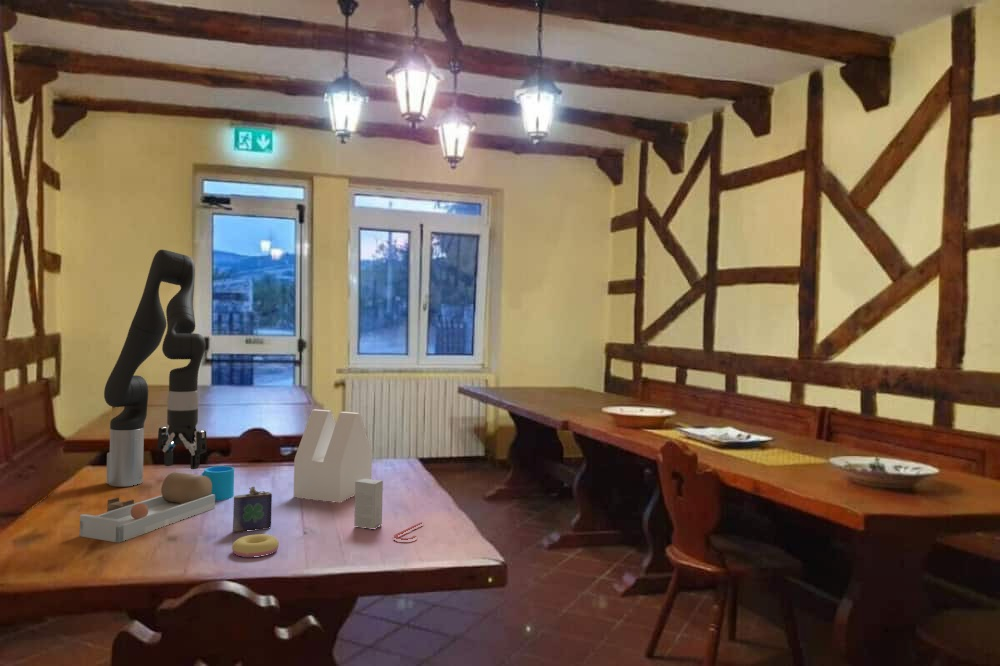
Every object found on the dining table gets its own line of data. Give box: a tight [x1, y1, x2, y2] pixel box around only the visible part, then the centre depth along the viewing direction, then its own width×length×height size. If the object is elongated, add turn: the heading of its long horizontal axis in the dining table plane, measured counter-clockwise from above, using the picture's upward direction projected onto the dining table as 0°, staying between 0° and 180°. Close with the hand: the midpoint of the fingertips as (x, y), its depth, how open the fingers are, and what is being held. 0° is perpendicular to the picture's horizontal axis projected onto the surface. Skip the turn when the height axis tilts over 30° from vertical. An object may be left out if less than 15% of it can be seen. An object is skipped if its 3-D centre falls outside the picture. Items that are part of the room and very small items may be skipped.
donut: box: [231, 533, 280, 558], centre depth 161 cm, size 10×5×9 cm
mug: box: [200, 465, 235, 502], centre depth 207 cm, size 12×8×8 cm
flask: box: [232, 486, 273, 533], centre depth 177 cm, size 9×3×11 cm, turn 121°
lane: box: [79, 471, 216, 544], centre depth 181 cm, size 12×32×10 cm, turn 162°
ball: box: [131, 502, 148, 519], centre depth 177 cm, size 4×4×4 cm
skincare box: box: [353, 478, 384, 528], centre depth 183 cm, size 6×4×12 cm
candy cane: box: [393, 522, 423, 540], centre depth 178 cm, size 6×15×2 cm, turn 155°
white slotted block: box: [293, 409, 373, 503], centre depth 215 cm, size 19×15×25 cm
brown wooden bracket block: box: [106, 496, 135, 513], centre depth 188 cm, size 6×3×3 cm, turn 72°
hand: (181, 467), depth 190 cm, fingers open, 8 cm apart
